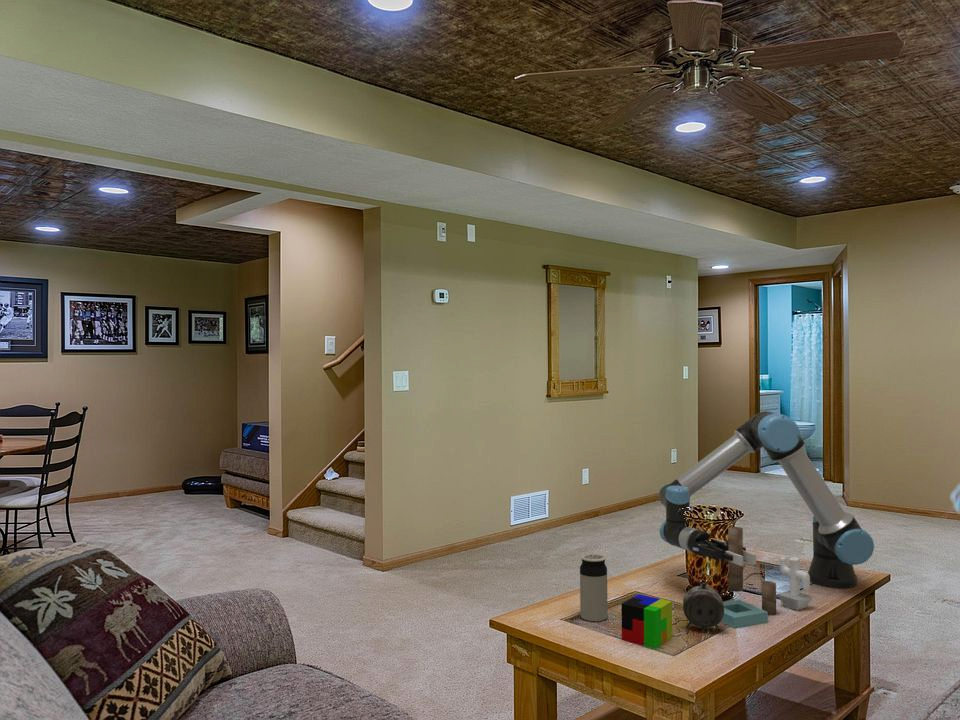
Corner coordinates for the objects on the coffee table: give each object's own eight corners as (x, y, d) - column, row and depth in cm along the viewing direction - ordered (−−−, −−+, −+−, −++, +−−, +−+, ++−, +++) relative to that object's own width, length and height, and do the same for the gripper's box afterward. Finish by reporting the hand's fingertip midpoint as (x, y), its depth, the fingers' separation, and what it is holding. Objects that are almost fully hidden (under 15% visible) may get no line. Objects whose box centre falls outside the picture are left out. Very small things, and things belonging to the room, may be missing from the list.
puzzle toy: (638, 629, 206) (638, 594, 206) (672, 637, 200) (671, 601, 200) (621, 640, 199) (621, 603, 199) (655, 649, 192) (655, 611, 192)
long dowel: (736, 586, 217) (736, 526, 217) (746, 590, 213) (745, 529, 213) (725, 588, 215) (725, 527, 215) (735, 592, 212) (734, 530, 211)
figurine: (801, 613, 217) (801, 563, 217) (774, 604, 225) (773, 556, 225) (816, 609, 221) (815, 559, 221) (788, 600, 229) (788, 552, 229)
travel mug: (610, 621, 212) (609, 560, 212) (583, 622, 212) (582, 560, 212) (604, 612, 220) (603, 552, 220) (578, 613, 220) (577, 553, 220)
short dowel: (769, 610, 221) (769, 580, 221) (779, 614, 217) (779, 584, 217) (759, 611, 220) (758, 581, 220) (768, 616, 216) (768, 585, 216)
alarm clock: (723, 628, 206) (723, 571, 206) (724, 635, 201) (724, 577, 201) (683, 625, 209) (682, 568, 209) (683, 632, 204) (682, 574, 204)
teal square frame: (739, 609, 222) (739, 599, 222) (767, 622, 211) (767, 612, 211) (706, 614, 217) (706, 604, 217) (734, 628, 206) (734, 617, 206)
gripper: (718, 550, 234) (772, 570, 212) (674, 556, 228) (724, 576, 206) (718, 527, 234) (772, 544, 212) (674, 532, 228) (724, 550, 206)
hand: (748, 560), depth 209 cm, fingers closed on long dowel, 4 cm apart
